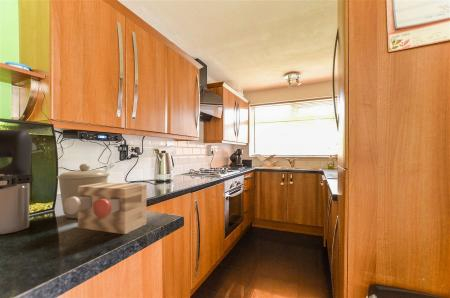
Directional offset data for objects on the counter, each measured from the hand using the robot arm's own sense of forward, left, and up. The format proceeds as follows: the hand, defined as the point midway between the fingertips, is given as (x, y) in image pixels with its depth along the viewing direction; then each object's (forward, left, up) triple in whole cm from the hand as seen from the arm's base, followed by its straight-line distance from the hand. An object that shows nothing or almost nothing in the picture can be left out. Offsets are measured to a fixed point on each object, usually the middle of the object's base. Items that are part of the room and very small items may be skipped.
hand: (30, 178), depth 56 cm
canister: (-16, +28, -19) cm, 38 cm away
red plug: (+12, +15, -12) cm, 23 cm away
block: (+6, +21, -19) cm, 29 cm away
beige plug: (0, +15, -12) cm, 19 cm away
